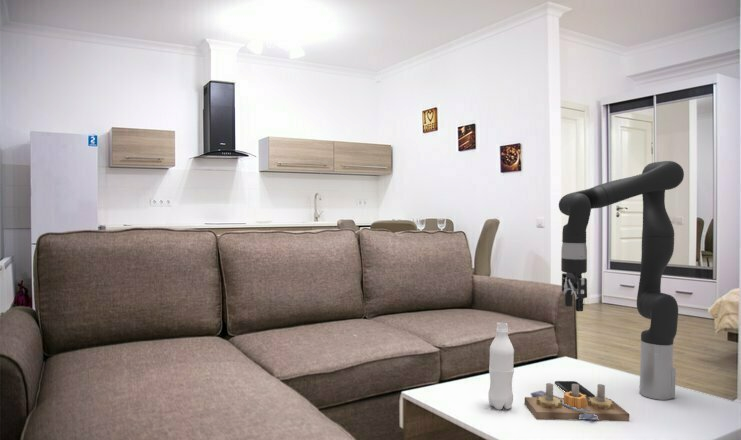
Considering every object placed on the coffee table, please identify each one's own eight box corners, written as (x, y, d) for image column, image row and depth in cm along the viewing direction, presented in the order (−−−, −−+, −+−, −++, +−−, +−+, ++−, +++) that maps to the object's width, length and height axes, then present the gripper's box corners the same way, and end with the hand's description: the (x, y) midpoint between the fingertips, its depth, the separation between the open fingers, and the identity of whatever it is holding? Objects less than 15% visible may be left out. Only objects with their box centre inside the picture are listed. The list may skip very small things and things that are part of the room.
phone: (571, 396, 166) (553, 380, 181) (571, 399, 166) (553, 384, 181) (596, 396, 166) (576, 381, 181) (596, 400, 166) (576, 384, 181)
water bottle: (496, 400, 163) (498, 319, 162) (517, 407, 158) (519, 323, 157) (483, 406, 158) (485, 323, 157) (504, 413, 153) (506, 327, 152)
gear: (581, 401, 158) (581, 391, 158) (589, 409, 152) (590, 398, 151) (560, 401, 158) (560, 391, 158) (568, 408, 152) (568, 398, 152)
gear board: (610, 405, 161) (610, 379, 160) (629, 421, 149) (630, 392, 148) (524, 403, 161) (525, 377, 161) (536, 419, 149) (537, 390, 149)
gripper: (595, 259, 159) (595, 313, 159) (576, 255, 173) (576, 304, 173) (571, 259, 159) (570, 313, 159) (554, 255, 173) (553, 304, 173)
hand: (573, 308), depth 166 cm, fingers open, 8 cm apart
